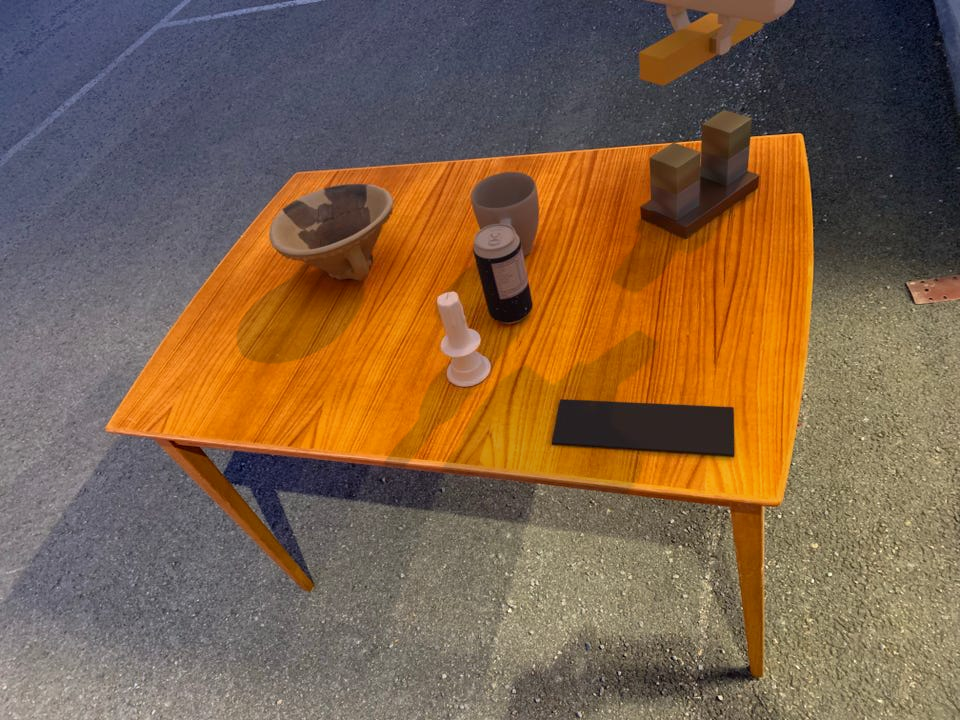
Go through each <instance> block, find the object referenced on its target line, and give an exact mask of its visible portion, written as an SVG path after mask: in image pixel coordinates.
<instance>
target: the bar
mask: <svg viewBox="0 0 960 720" xmlns="http://www.w3.org/2000/svg"><path fill="white" fill-rule="evenodd" d="M721 26H722V24H718V14H714V13H707V14H706V15H703V16H702V17H700V18H699V19H696V20H695V21H693V22H690V24H689V25H687V26H686V27H684V28H682V29H680V30H678V31H677V32H675V31H674V32H672V33H671V34H669V35H668V36H666V37H664V38H662V39H660V40H659V41H657V42H655V43H653V44H651V45H650V46H648V47H646V48H644V49H642V50H641V51H639V52H638V61H639V62H638V63H639V79H640V80H642V81H645V82H649V83H653V84H655V85H659V86H663V87H664V86H666V85H668V84H670V83H671V82H673V81H675V80H676V79H678V78H680V77H682V76H683V75H685V74H687V73H689V72H690V71H692V70H693V69H695V68H697V67H699V66H700V65H702V64H704V63H705V62H707V61H709V60H711V59H712V58H714V57H716V56H718V54H714V53H711V52H710V51H709V48H710V37H712V36H714V35H716V34H717V33H718V32H719V30H720V28H721ZM762 29H763V23H761V22H756V21H750V20H745V19H741V20H740V22H739V23H738V25H737V27H736V28H735V30H734V32H733V33H732V34H731V47H733V46H735V45H736V44H738V43H740V42H742V41H743V40H745V39H747V38H749V37H750V36H752V35H753V34H755V33H757V32H759V31H761V30H762Z"/></svg>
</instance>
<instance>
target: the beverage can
mask: <svg viewBox="0 0 960 720" xmlns="http://www.w3.org/2000/svg"><path fill="white" fill-rule="evenodd" d="M473 242H474V243H473V246H472V252H473V256H474V260H475V264H476V268H477V271H478V276H479V279H480V283H481V288H482V292H483V296H484V299H485V300H484V301H485V304H486V307H487V311H488V314H489V316H490V318H491V319H492V320H494V321H496V322H499V323H502V324H507V325H511V324H516V323H519V322H521V321H522V320H524V319H525V318H526V317H527V316H528V315H529V314H530V313H531V311H532V309H533V306H534V305H533V299H532V294H531V292H532V291H531V287H530V282H529V277H528V272H527V266H526V261H525V256H523V251H522V245H521V240H520V238H519V236H518V235H517V234H516V232H515V230H514V228H513V227H511V226H509V225H507V224H493V225H489V226H486V227H484V228H482V229H479V230H478V231H477V233H476V234H475V235H474V238H473Z"/></svg>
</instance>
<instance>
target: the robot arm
mask: <svg viewBox="0 0 960 720" xmlns="http://www.w3.org/2000/svg"><path fill="white" fill-rule="evenodd" d="M644 1H646V2H651V3H656V4H662V5H666V7H665V8H666V9H665V10H666V15H667V18H668V20H669V22H670V24H671V26H672V28H673V30H674V33H675V32H677V31H678V30H680V29H682V28H684V27H686V26H687V25H689V24H691V22H690V19H689V16H688V14H687V13H688V12H687V10H688V9H689V10H693V11H698V12H704V13H707V14H709V13H714V14H718V24H722V26H721V28H720V30H719V32H718V33H717V34H716V35H714V36H712V37H710V48H709V51H710V52H711V53H714V54H718V55H719V56H723V55H725V54H727V53H728V52H730V50H731V47H732V46H731V34H732V33H733V32H734V30H735V28H736V27H737V25H738V23H739V22H740V20H741V19H745V20H750V21H756V22H761V23H762V24H769V23H772V22H774V21H776V20H777V19H779V18H780V17H782V16H784V15H785V14H786V13H787V12H789V11H790V9H791V8H792V7H793V6H794V4H795V2H796V0H644ZM718 55H717V56H718Z"/></svg>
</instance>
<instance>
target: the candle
mask: <svg viewBox="0 0 960 720" xmlns="http://www.w3.org/2000/svg"><path fill="white" fill-rule="evenodd" d="M436 305H437V309H438V313H439V316H440V319H441V322H442V325H443V328H444V332H445V336H443V338H442V339H441V342H440V350H441V352H442V353H443V354H444V355H446V356H448V357H450V358H452V359H451V360H450V363H449V365H448V367H447V369H446V370H447V371H446V377H447V380H448V381H449V382H450V383H451V384H453V385H455V386H457V387H464V388H465V387H466V388H467V387H472V386H476V385H478V384H480V383H482V382H483V381H485V379H486V378H487V377H488V376H489V374H490V372H491V369H492V366H491V362H490V360H489V359H488V357H487V356H484V355H483V354H481V353H480V352H478V351H476V350H477V349H478V348H479V346H480V344H481V340H482V339H481V335H480V334H479V332H477V331H476V330H475V329H473V328H469V327H468V324H467V317H466V315H465V312H464V306H463V305H462V302H461V300H460V297H459V295H458V293H457V292H455V291H446V292H444V293H442V294H440V295H438V296H437V299H436Z"/></svg>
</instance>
